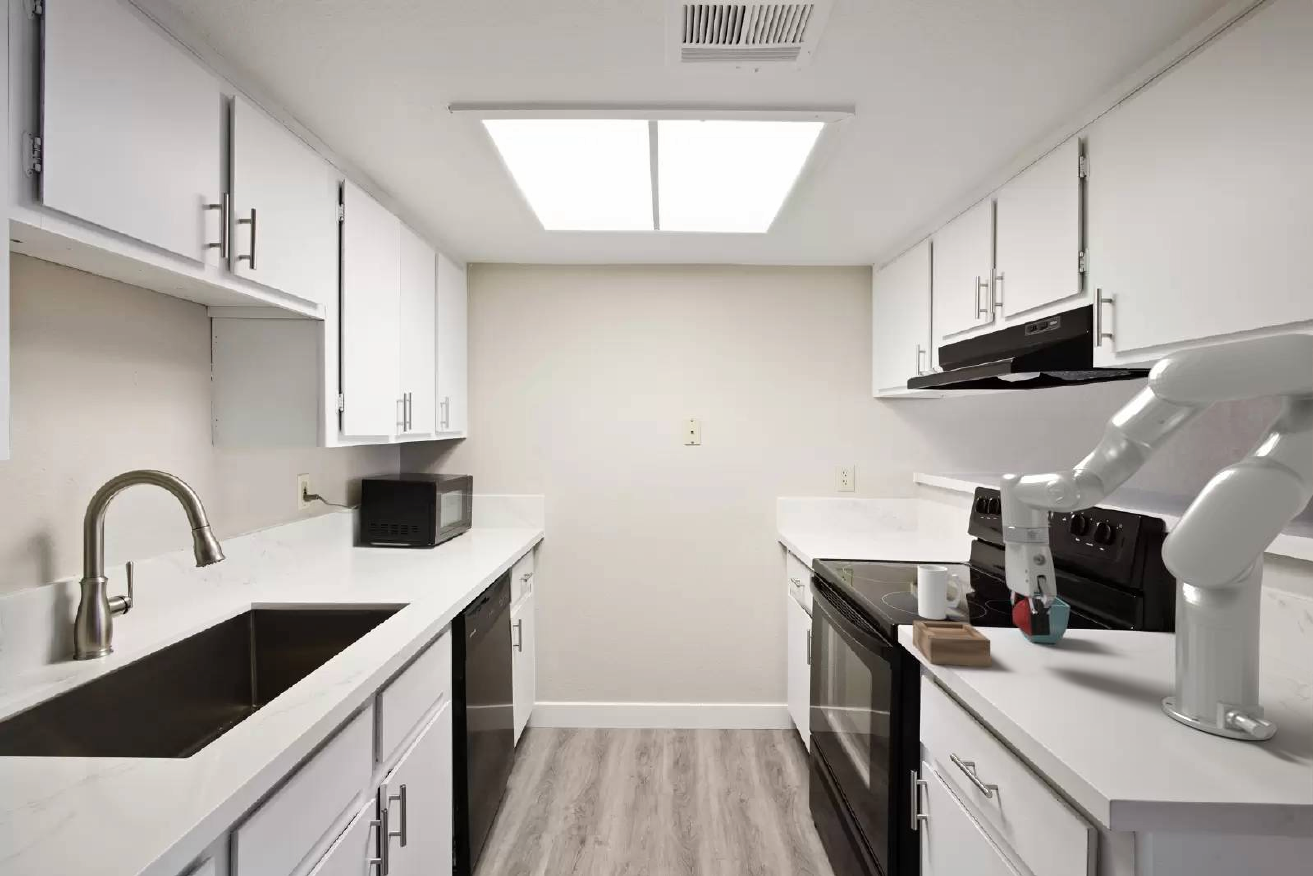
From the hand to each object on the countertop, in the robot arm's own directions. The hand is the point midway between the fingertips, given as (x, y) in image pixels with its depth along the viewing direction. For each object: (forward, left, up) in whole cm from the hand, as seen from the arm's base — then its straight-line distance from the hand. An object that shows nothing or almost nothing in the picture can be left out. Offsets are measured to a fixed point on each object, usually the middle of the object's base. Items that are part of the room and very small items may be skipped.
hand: (1031, 628), depth 113 cm
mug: (+31, +6, -8) cm, 33 cm away
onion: (0, 0, -2) cm, 2 cm away
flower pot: (+17, -10, -8) cm, 21 cm away
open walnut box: (+5, +13, -7) cm, 16 cm away
